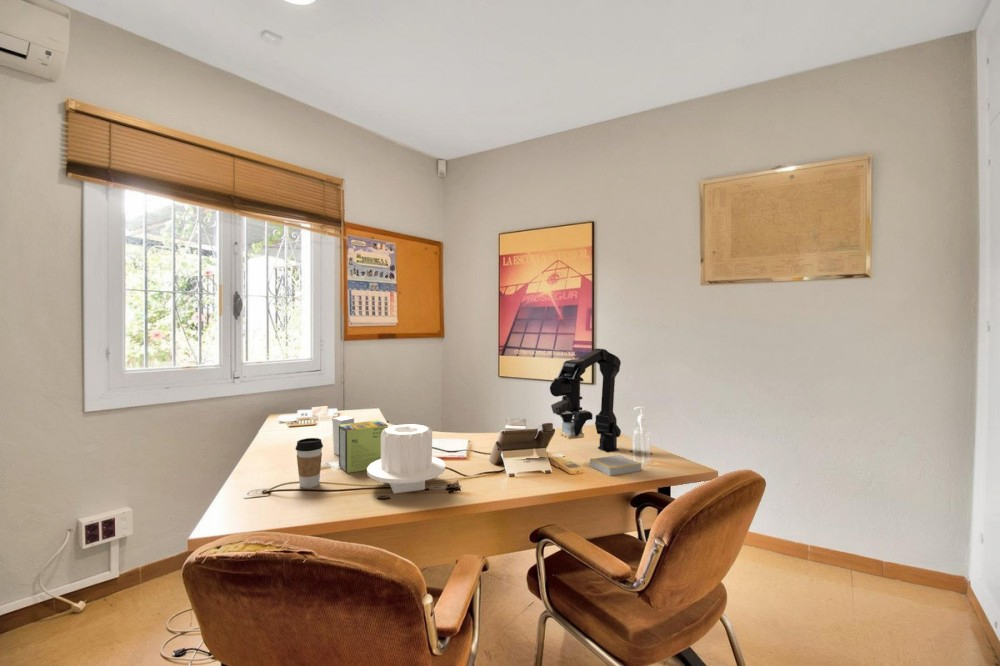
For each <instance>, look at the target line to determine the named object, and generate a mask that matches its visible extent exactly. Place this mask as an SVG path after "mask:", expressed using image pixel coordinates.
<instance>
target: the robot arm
mask: <svg viewBox="0 0 1000 666" xmlns="http://www.w3.org/2000/svg"><path fill="white" fill-rule="evenodd" d="M596 363H597V364H598V366H599V371H600V374H601V376H602V385H601V387H602V388H601V402H600V403H601V405H600V411H599V413H597V414H596V415H595V422H594V425H595V430H596V434H597V435H599V437H600V438H599V446H597V448H598V449H599V450H601V451H604V452H606V453H609V452H617V451H620V449H619V448H617V445H618V438H620V436H621V433H622V430H621V429H620V427H619V426H618V424H617V421H618V420H617V417H616V414H615V413H614V404H615V403H614V400H615V399H614V398H615V385H616V384H615V381H616V377H617V375H618V373H620V370H621V369H620V368H621V364H622V363H621V359H620V358H619V357H618V356H616V355H615V354H613V353H611V352H609V351H608V350H607V349H605V348H593V350H592V351H590V352H588V353H586V354H584V355H582V356H581V357H579V358H572V359H569V360H565V361H564V362H563V364H562V366H561V369H560V370H559V372H558V375H557V377H555V378H554V381H552V382H551V384H550V386H549V392H550V394H551V395H552V396H553V397H554V398H555V397H561V400H558V401H557V402H555V403H552V404H551V405H550V407H551V410H552V413H553V414H555V415H556V416H560V418H561V420H562V423H564V422H574V428H575V436H578V435H579V433H580V431H581V429H582V430H583V427H584V426H585V424H586V422H587V421H591V420H593V413H592V411H589V410H585V409H583V407H582V406H581V400H583V396H581V383H582V382H584V380H585V379H584V378H582V375H583V374H584V373H586V370H587V369H588V368H589V367H591V366H593V365H595V364H596Z"/></svg>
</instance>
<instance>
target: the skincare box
mask: <svg viewBox="0 0 1000 666" xmlns="http://www.w3.org/2000/svg"><path fill="white" fill-rule="evenodd" d="M331 419H332V438H333V439H332V440H333V441H332V442H333V443H332V444H333V454H334V455H336V456H339V425H343V424H351V423H355V418H354V417H350V416H348V415H341V416H337V417H336V416H335V417H332V418H331Z"/></svg>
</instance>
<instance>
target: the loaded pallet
mask: <svg viewBox="0 0 1000 666" xmlns="http://www.w3.org/2000/svg"><path fill="white" fill-rule="evenodd" d="M561 426H562V427H561V431H560V432H559V436H560V437H563V438H564V439H566V440H575V439H582V438H583V439H584V438H585V433H583V428H582V429H581V431H580V433H579V435H578V436H575V428H574V422H573V421H572V422H564V423H563V422H561Z"/></svg>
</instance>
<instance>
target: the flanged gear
mask: <svg viewBox="0 0 1000 666" xmlns="http://www.w3.org/2000/svg"><path fill="white" fill-rule="evenodd" d="M445 471H446V463H445V461H444V460H442V459H441V458H438V457H436V456H433V430H432V428H431V427H429V426H426V425H425V424H424V425H421V424H416V423H411V424H409V423H407V424H403V423H402V424H397V425H391V426H389V427H388V428H385V429H384V430H383V431H382V433H381V459H379V460H377V461H375V462H373V463H371V464H370V465H369V466H368V467H367V470H366V474H367V476H368V477H369V478H371V479H372V480H374V481H377V482H381V483H388V484H389V486H390V489H391V490H392V493H393V494H402V493H409V492H410V493H411V492H417V491H423V490H425V489H426V481H429V480H432V479H435V478H438V477H440V476H441V475H443V473H444V472H445Z"/></svg>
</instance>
